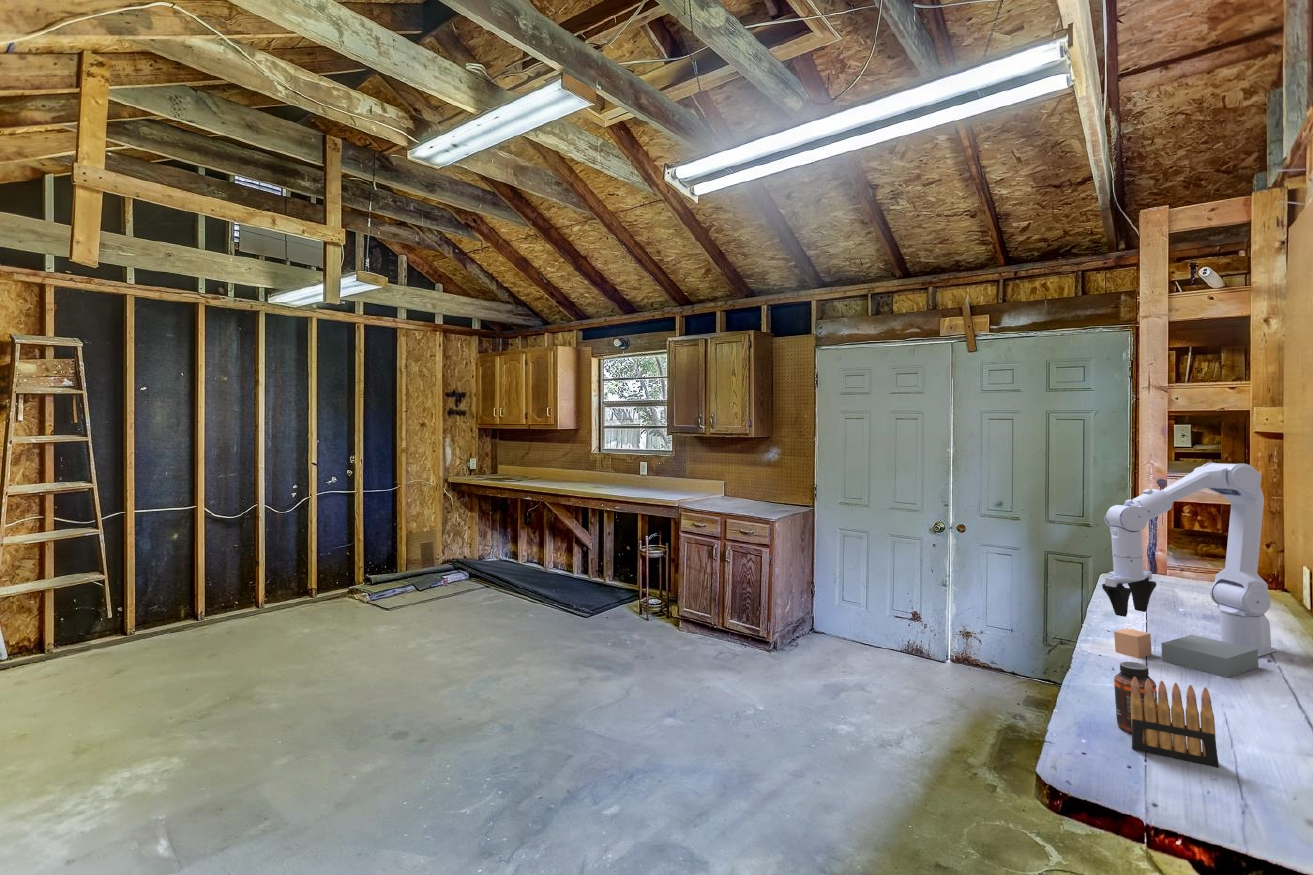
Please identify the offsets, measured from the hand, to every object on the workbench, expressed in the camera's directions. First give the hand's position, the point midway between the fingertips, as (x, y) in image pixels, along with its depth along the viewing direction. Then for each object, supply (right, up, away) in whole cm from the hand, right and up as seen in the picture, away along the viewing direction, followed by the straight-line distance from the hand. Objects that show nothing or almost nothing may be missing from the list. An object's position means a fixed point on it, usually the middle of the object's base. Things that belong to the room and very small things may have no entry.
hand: (1130, 613), depth 145 cm
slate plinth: (+11, -9, -9) cm, 16 cm away
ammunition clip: (-29, -10, -46) cm, 55 cm away
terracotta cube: (0, -10, 0) cm, 10 cm away
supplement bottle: (-27, -10, -37) cm, 47 cm away
